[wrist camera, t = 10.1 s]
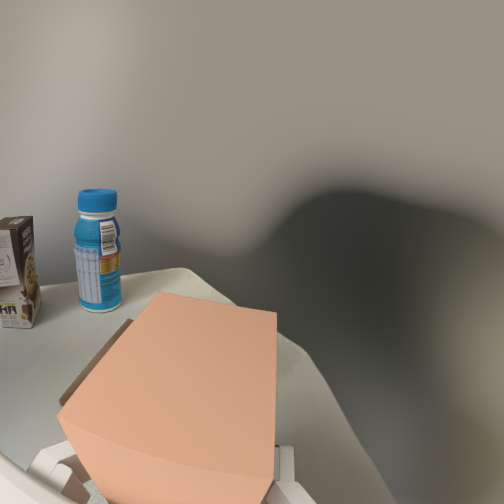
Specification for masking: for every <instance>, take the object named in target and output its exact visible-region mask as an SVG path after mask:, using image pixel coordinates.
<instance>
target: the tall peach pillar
mask: <svg viewBox="0 0 504 504" xmlns="http://www.w3.org/2000/svg"><path fill="white" fill-rule="evenodd" d="M276 360H277V313H276V312H269V311H263V310H256V309H250V308H244V307H238V306H233V305H227V304H221V303H216V302H210V301H205V300H200V299H195V298H190V297H185V296H180V295H175V294H170V293H165V292H160V291H159V293H158V294H157V295H156V296H155V297H154V298H153V299H152V300H151V302H150V303H149V304H148V305H147V306H146V307H145V308H144V309H143V311H142V312H141V313H140V314H139V315H138V316H137V318H136V319H135V320H134V321H133V322H132V323H131V324H130V326H129V327H128V328H127V329H126V330H125V331H124V333H123V334H122V335H121V336H120V337H119V338H118V340H117V341H116V342H115V343H114V344H113V346H112V347H111V348H110V349H109V350H108V352H107V353H106V354H105V355H104V356H103V358H102V359H101V360H100V361H99V362H98V364H97V365H96V366H95V367H94V369H93V370H92V371H91V372H90V373H89V375H88V376H87V377H86V378H85V380H84V381H83V382H82V383H81V385H80V386H79V387H78V388H77V390H76V391H75V392H74V393H73V395H72V396H71V397H70V398H69V400H68V401H67V402H66V404H65V405H64V406H63V407H62V409H61V410H60V411H59V413H58V414H57V415H56V416H57V418H58V420H59V422H60V424H61V426H62V428H63V430H64V432H65V434H66V436H67V438H68V440H69V442H70V444H71V446H72V447H73V449H74V451H75V453H76V454H77V456H78V458H79V460H80V461H81V463H82V465H83V466H84V468H85V469H86V471H87V473H88V474H89V476H90V477H91V479H92V480H93V482H94V483H95V485H96V486H97V488H98V489H99V490H100V492H101V493H102V495H103V496H104V497H105V499H106V500H107V501H108V503H109V504H260V503H261V501H262V499H263V497H264V496H265V494H266V492H267V490H268V488H269V486H270V484H271V482H272V480H273V474H274V448H275V415H276Z"/></svg>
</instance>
